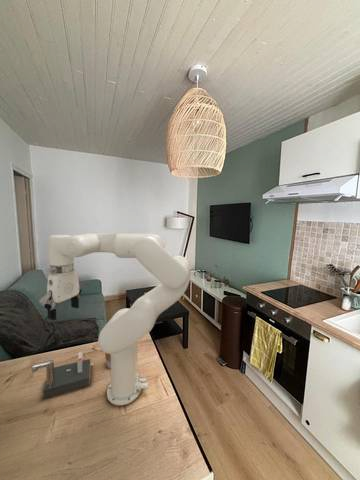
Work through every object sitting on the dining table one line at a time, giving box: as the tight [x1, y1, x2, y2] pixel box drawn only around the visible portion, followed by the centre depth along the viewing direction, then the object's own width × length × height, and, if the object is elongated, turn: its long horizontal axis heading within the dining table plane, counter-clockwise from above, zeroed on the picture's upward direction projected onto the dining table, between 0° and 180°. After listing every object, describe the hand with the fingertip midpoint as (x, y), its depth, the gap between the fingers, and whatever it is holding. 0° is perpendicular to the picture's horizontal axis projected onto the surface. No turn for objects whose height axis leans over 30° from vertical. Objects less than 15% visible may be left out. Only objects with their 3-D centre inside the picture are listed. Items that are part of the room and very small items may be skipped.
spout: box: [31, 359, 55, 387], centre depth 71 cm, size 7×2×9 cm, turn 113°
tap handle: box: [76, 350, 84, 373], centre depth 80 cm, size 6×2×5 cm, turn 23°
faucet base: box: [42, 358, 94, 400], centre depth 78 cm, size 17×11×4 cm, turn 113°
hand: (64, 313), depth 73 cm, fingers open, 9 cm apart
